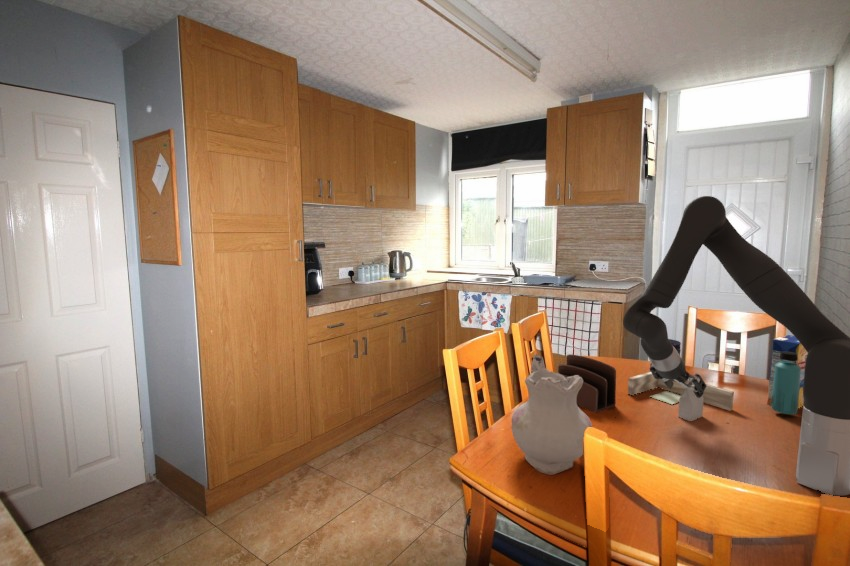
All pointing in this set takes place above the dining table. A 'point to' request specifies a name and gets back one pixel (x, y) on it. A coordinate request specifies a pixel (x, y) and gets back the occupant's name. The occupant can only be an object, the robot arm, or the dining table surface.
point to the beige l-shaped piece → (679, 391)
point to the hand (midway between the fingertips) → (685, 390)
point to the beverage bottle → (786, 384)
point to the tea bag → (690, 405)
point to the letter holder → (592, 382)
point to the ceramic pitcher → (550, 420)
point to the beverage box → (789, 345)
